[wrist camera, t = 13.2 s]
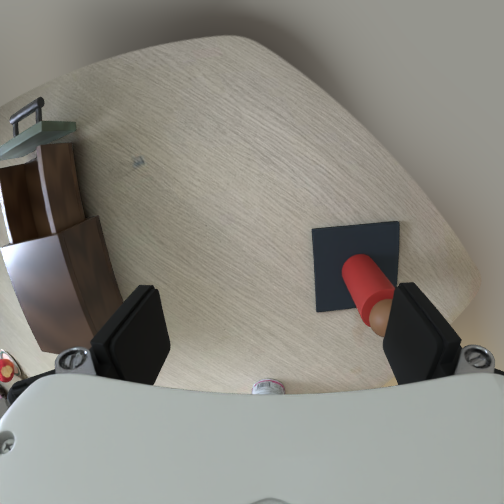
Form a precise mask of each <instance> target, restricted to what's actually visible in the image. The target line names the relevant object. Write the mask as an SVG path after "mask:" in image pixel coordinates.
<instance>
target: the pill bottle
mask: <svg viewBox="0 0 504 504" xmlns="http://www.w3.org/2000/svg"><path fill="white" fill-rule="evenodd" d="M252 394H265V395H285V388H284V386H283V384H282V383H281V382H279V381H277V380H274V379H262V380H259V381H257V382H256V383H255V384H254V385H253V388H252Z"/></svg>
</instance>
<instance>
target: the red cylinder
mask: <svg viewBox="0 0 504 504" xmlns="http://www.w3.org/2000/svg"><path fill="white" fill-rule="evenodd" d="M342 277H343V280H344V282H345V284H346V286H347V288H348V290H349V292H350V294H351V296H352V299H353V301H354V303H355V305H356V307H357V309H358V311H359V314H360V316H361V318H362V320H363V322H364V323H365V324H366V325H367V326H369V327H371V328H372V330H373V331H374V332H375V333H376V334H377V335H379V336H381V337H384V336H385V332H386V327H387V323H388V319H389V314H390V309H391V305H392V300H393V294H394V290H395V287H394V286H393V285H392V283H391V282H390V281H389V280H388V278H387V277H386V276H385V275H384V273H383V272H382V271H381V270H380V268H379V267H378V266H377V265H376V263H375V262H374V261H373V260H372V259H371V258H370V257H369V256H367V255H364V254H357V255H354V256H352V257H350V258H349V259H348V260H347V261H346V262H345V263H344V265H343V268H342Z"/></svg>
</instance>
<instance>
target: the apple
mask: <svg viewBox="0 0 504 504" xmlns="http://www.w3.org/2000/svg"><path fill="white" fill-rule="evenodd" d="M0 357H1V359H0V381H2V382H9V381H11V380H12V378H13V376H14V375H16V376H18V377H19V376H21V372H20V369H19V367H18V365H17V364H16V362H15V361H14V360H13V358H12V357H11V356H10V355H9V354H8V353H7V352H5V351H4V350H0Z"/></svg>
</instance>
